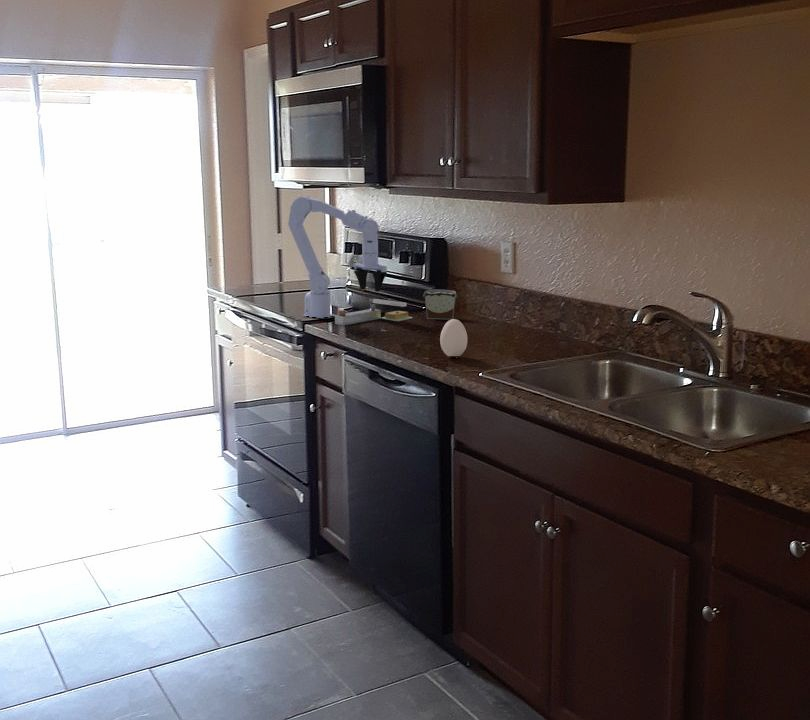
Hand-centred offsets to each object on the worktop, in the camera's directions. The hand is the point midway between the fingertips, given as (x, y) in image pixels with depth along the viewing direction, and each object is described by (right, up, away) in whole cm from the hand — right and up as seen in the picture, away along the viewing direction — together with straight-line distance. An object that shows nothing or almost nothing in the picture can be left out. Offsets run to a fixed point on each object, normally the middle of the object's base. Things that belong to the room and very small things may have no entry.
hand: (370, 290), depth 330 cm
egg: (+27, -25, -65) cm, 75 cm away
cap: (+10, -10, -1) cm, 14 cm away
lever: (+6, -6, -7) cm, 11 cm away
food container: (+26, -10, +1) cm, 28 cm away
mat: (+10, -10, -1) cm, 14 cm away
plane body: (-4, -12, -7) cm, 14 cm away
